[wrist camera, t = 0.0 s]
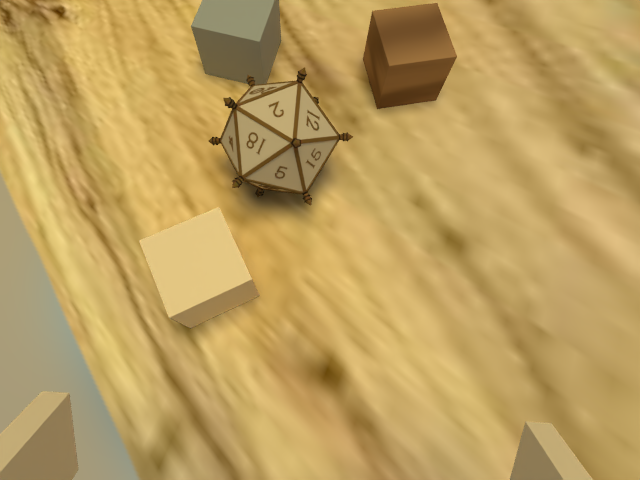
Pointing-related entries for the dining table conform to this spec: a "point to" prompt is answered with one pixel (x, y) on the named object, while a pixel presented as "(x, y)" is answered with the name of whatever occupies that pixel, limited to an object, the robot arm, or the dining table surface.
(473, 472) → the dining table surface
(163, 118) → the dining table surface
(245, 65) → the slate-blue block
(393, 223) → the dining table surface
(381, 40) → the walnut block
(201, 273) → the cream block
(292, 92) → the game die
